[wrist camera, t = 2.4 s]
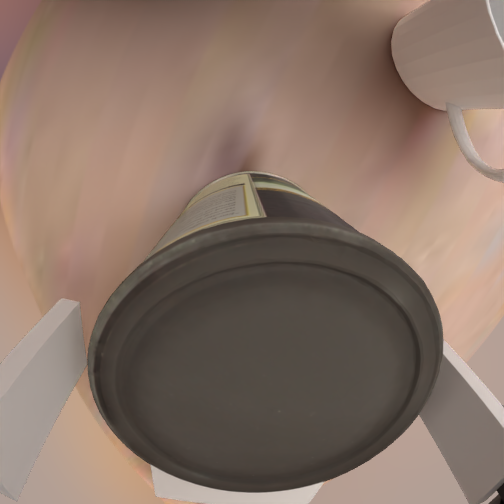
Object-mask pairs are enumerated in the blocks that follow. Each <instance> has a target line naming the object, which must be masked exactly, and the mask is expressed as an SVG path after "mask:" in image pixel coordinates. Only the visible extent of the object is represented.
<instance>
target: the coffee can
mask: <svg viewBox="0 0 504 504" xmlns="http://www.w3.org/2000/svg"><path fill="white" fill-rule="evenodd" d="M442 357H443V329H442V323H441V318H440V314H439V311H438V308H437V306H436V304H435V301H434V299H433V297H432V295H431V293H430V291H429V289H428V288H427V286H426V284H425V283H424V281H423V280H422V279H421V278H420V276H419V275H418V274H417V273H416V272H415V271H414V270H413V269H412V268H411V267H410V266H409V265H408V264H407V263H406V262H405V261H404V260H403V259H402V258H400V257H399V256H397V255H396V254H395V253H394V252H392V251H391V250H389V249H388V248H386V247H384V246H383V245H381V244H380V243H378V242H377V241H375V240H373V239H372V238H370V237H368V236H366V235H364V234H362V233H360V232H358V231H357V230H355V229H354V228H353V227H352V226H350V225H349V224H348V223H346V222H345V221H343V220H342V219H341V218H340V217H338V216H337V215H336V214H334V213H333V212H331V211H330V210H329V209H327V208H326V207H325V206H323V205H322V204H321V203H319V202H318V201H316V200H315V199H314V198H312V197H311V196H309V195H308V194H307V193H306V192H305V191H304V190H303V189H302V188H300V187H299V186H298V185H296V184H295V183H293V182H291V181H290V180H288V179H286V178H283V177H281V176H278V175H275V174H271V173H266V172H257V171H245V172H238V173H234V174H230V175H227V176H224V177H222V178H219V179H217V180H215V181H213V182H212V183H210V184H208V185H207V186H206V187H204V188H203V189H202V190H201V191H199V192H198V193H197V194H196V195H195V196H194V197H193V198H192V199H191V201H190V202H189V203H188V205H187V206H186V208H185V210H184V211H183V213H182V214H181V215H180V216H179V217H178V219H177V220H176V221H175V222H174V224H173V225H172V226H171V227H170V229H169V230H168V231H167V232H166V234H165V235H164V236H163V237H162V239H161V240H160V241H159V242H158V244H157V245H156V246H155V247H154V249H153V250H152V251H151V253H150V254H149V255H148V256H147V258H146V259H145V260H144V262H143V263H142V264H141V265H140V266H138V267H137V268H136V269H135V270H134V271H133V272H132V273H131V274H130V275H129V276H128V277H127V278H126V279H125V280H124V281H123V282H122V283H121V284H120V286H119V287H118V288H117V289H116V290H115V292H114V293H113V294H112V295H111V296H110V298H109V300H108V301H107V303H106V304H105V306H104V308H103V309H102V311H101V313H100V314H99V316H98V319H97V321H96V324H95V327H94V329H93V332H92V335H91V339H90V343H89V348H88V359H87V360H88V376H89V382H90V387H91V391H92V394H93V397H94V400H95V403H96V405H97V407H98V410H99V412H100V414H101V415H102V417H103V419H104V420H105V421H106V423H107V425H108V426H109V428H110V429H111V430H112V431H113V432H114V434H115V435H116V436H117V437H118V438H119V439H120V440H121V441H122V442H123V443H124V444H125V445H126V446H127V447H128V448H129V449H130V450H131V451H132V452H134V453H135V454H136V455H137V456H139V457H140V458H142V459H143V460H144V461H146V462H147V463H149V464H151V465H152V466H154V467H156V468H158V469H159V470H161V471H163V472H165V473H167V474H169V475H172V476H174V477H176V478H179V479H181V480H184V481H187V482H190V483H193V484H196V485H200V486H204V487H208V488H212V489H217V490H224V491H231V492H245V493H267V492H278V491H285V490H292V489H297V488H302V487H306V486H311V485H314V484H318V483H321V482H324V481H327V480H330V479H333V478H335V477H338V476H340V475H342V474H344V473H347V472H348V471H350V470H353V469H355V468H356V467H358V466H360V465H362V464H364V463H365V462H367V461H369V460H370V459H371V458H373V457H374V456H376V455H377V454H379V453H380V452H381V451H383V450H384V449H386V448H387V447H388V446H389V445H390V444H392V443H393V442H394V441H395V440H396V439H397V438H398V437H399V436H400V435H402V434H403V433H404V432H405V430H406V429H407V428H408V427H409V426H410V425H411V424H412V423H413V421H414V420H415V419H416V417H417V416H418V415H419V413H420V412H421V410H422V409H423V407H424V406H425V404H426V403H427V401H428V399H429V397H430V395H431V393H432V391H433V388H434V386H435V383H436V380H437V378H438V375H439V372H440V365H441V362H442Z"/></svg>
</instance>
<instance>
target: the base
mask: <svg viewBox="0 0 504 504" xmlns="http://www.w3.org/2000/svg"><path fill="white" fill-rule="evenodd" d="M150 465H151V464H150ZM151 472H152V478H153V484H154V490H155V496H156V497H161V498H167V499H174V500H181V501H188V502H196V503H206V504H309V502H310V501H311V500H312V498H313V497H314V496H315V494H316V493H317V491H318V490H319V489H320V487H321V486H322V484H323V483H324V482H321V483H318V484H314V485H311V486H306V487H302V488H297V489H292V490H285V491H278V492H267V493H245V492H231V491H224V490H217V489H212V488H208V487H204V486H200V485H196V484H193V483H190V482H187V481H184V480H181V479H179V478H176V477H174V476H172V475H169V474H167V473H165V472H163V471H161V470H159V469H158V468H156V467H154V466H152V465H151Z"/></svg>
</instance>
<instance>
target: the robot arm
mask: <svg viewBox="0 0 504 504" xmlns="http://www.w3.org/2000/svg"><path fill="white" fill-rule="evenodd" d="M86 366H87V358H86V351H85V344H84V337H83V329H82V320H81V310H80V302H78V301H73V300H68V299H64V298H61V299H60V300H59V301H58V302H57V303H56V304H55V305H54V306H53V307H52V308H51V309H50V310H49V311H48V312H47V313H46V314H45V315H44V316H43V317H42V318H41V319H40V321H39V322H38V323H37V324H36V325H35V326H34V327H33V328H32V329H31V330H30V331H29V332H28V333H27V334H26V335H25V337H24V338H23V339H22V340H21V341H20V342H19V343H18V344H17V345H16V346H15V347H14V349H13V350H12V351H11V352H10V353H9V354H8V355H7V357H6V358H5V359H4V360H3V361H2V362H1V363H0V493H1V494H4V495H5V496H7V497H9V498H11V499H13V500H15V501H18V498H19V496H20V494H21V492H22V489H23V487H24V485H25V483H26V480H27V478H28V476H29V474H30V472H31V469H32V467H33V465H34V463H35V461H36V459H37V457H38V455H39V453H40V451H41V449H42V447H43V445H44V443H45V441H46V439H47V437H48V435H49V433H50V431H51V429H52V427H53V425H54V423H55V421H56V420H57V418H58V416H59V413H60V412H61V410H62V408H63V406H64V405H65V403H66V401H67V399H68V397H69V396H70V394H71V392H72V390H73V388H74V387H75V385H76V383H77V381H78V380H79V378H80V376H81V374H82V373H83V371H84V369H85V367H86ZM419 415H420V417H421V418H422V420H423V422H424V424H425V425H426V427H427V429H428V430H429V432H430V434H431V436H432V437H433V439H434V441H435V442H436V444H437V446H438V448H439V449H440V451H441V453H442V455H443V457H444V458H445V460H446V462H447V464H448V465H449V467H450V469H451V471H452V473H453V474H454V476H455V478H456V480H457V482H458V484H459V485H460V487H461V489H462V491H463V493H464V495H465V497H466V499H467V500H468V502H469V504H480V503H482V502H484V501H486V500H487V499H488V498H489V497H490V496H491V495H492V494H493V493H494V492H495V491H496V490H497V491H498V493H499V494H498V495H497V496H496V497H495V498H494V499H493V500H492V501H491V502H490V503H489V504H504V406H503V405H502V404H501V403H500V402H499V401H498V400H497V399H496V398H495V396H494V395H493V394H492V393H491V392H490V390H489V389H488V388H487V387H486V386H485V385H484V384H483V382H482V381H481V380H480V379H479V378H478V377H477V375H476V374H475V373H474V372H473V371H472V370H471V369H470V368H469V367H468V365H467V364H466V363H465V362H464V361H463V360H462V359H461V358H460V356H459V355H458V354H457V353H456V352H455V351H454V350H453V349H452V348H451V347H450V346H449V345H448V343H447V342H446V341H445V340H444V339H443V357H442V362H441V365H440V372H439V375H438V378H437V380H436V383H435V386H434V388H433V391H432V393H431V395H430V397H429V399H428V401H427V403H426V404H425V406H424V407H423V409H422V410H421V412H420V413H419Z"/></svg>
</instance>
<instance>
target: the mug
mask: <svg viewBox="0 0 504 504" xmlns="http://www.w3.org/2000/svg"><path fill="white" fill-rule="evenodd" d="M391 49H392V57H393V60H394V63H395V67H396V69H397V71H398V73H399V75H400V77H401V79H402V81H403V82H404V83H405V85H406V86H407V87H408V89H409V90H410V91H411V92H412V93H413V94H414V95H415V96H416V97H417V98H419V99H420V100H421V101H422V102H424V103H425V104H427V105H429V106H431V107H433V108H435V109H439V110H443V111H447V114H448V118H449V121H450V125H451V128H452V131H453V134H454V137H455V139H456V141H457V144H458V146H459V148H460V150H461V152H462V153H463V155H464V156H465V158H466V159H467V161H468V163H469V164H470V165H471V166H472V167H473V168H474V169H476V170H477V171H478V172H479V173H481V174H483V175H484V176H486V177H488V178H490V179H493V180H495V181H499V182H502V183H504V169H499V170H498V169H494V168H492V167H490V166H488V165H487V164H486V163H485V162H484V161H483V160H482V159H481V158H480V157H479V155H478V154H477V152H476V151H475V149H474V147H473V144H472V142H471V140H470V137H469V135H468V132H467V129H466V126H465V122H464V119H463V115H462V110H469V109H504V0H430V1H428V2H427V3H425V4H423V5H422V6H420V7H419V8H417V9H415V10H414V11H412V12H411V13H409V14H407V15H406V16H405V17H403V18H402V19H401V20H399V21H398V23H397V25H396V26H395V28H394V30H393V35H392V40H391Z"/></svg>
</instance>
